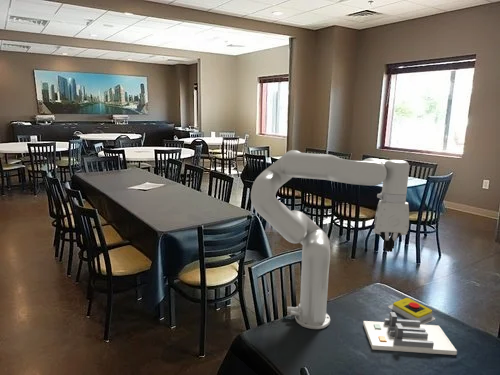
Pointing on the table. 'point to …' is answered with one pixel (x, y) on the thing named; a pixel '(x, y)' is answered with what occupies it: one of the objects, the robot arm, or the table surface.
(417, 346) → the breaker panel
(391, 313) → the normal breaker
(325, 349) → the table surface
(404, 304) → the emergency button
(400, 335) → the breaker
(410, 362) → the table surface
